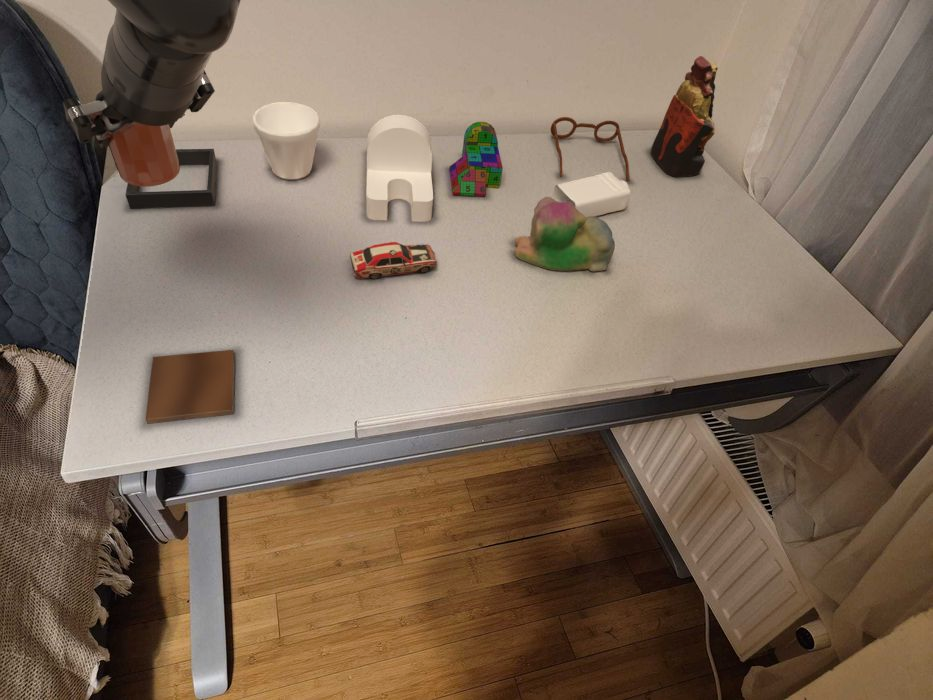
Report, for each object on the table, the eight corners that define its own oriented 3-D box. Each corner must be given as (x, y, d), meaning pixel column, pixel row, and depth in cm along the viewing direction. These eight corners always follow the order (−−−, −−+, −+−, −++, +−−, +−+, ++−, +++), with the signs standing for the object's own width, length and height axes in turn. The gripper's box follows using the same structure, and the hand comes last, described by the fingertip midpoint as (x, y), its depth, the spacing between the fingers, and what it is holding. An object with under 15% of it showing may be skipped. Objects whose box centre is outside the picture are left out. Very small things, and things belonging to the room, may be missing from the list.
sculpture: (593, 236, 98) (612, 183, 91) (614, 271, 93) (636, 218, 86) (508, 242, 95) (519, 188, 87) (524, 279, 90) (538, 225, 82)
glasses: (613, 143, 118) (621, 119, 114) (629, 182, 110) (638, 158, 106) (547, 138, 117) (553, 113, 113) (558, 177, 108) (565, 152, 104)
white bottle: (631, 210, 104) (640, 189, 101) (570, 225, 99) (577, 204, 96) (609, 188, 108) (616, 167, 105) (549, 202, 103) (554, 181, 100)
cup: (263, 152, 103) (255, 99, 96) (324, 154, 104) (320, 102, 97) (257, 187, 96) (248, 133, 89) (322, 189, 98) (318, 136, 91)
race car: (353, 266, 89) (346, 242, 86) (433, 252, 91) (430, 228, 87) (356, 290, 86) (350, 266, 83) (439, 275, 88) (436, 251, 84)
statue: (703, 178, 114) (754, 72, 99) (665, 179, 112) (711, 71, 97) (676, 143, 121) (719, 39, 106) (640, 143, 119) (678, 38, 104)
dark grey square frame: (130, 209, 89) (125, 194, 88) (138, 164, 97) (134, 149, 95) (214, 205, 92) (211, 192, 90) (216, 162, 99) (213, 148, 97)
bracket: (431, 222, 96) (437, 158, 87) (366, 219, 94) (365, 154, 86) (425, 154, 108) (430, 92, 99) (367, 151, 106) (367, 88, 98)
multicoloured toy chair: (447, 155, 109) (451, 119, 103) (492, 157, 110) (498, 122, 105) (452, 195, 101) (457, 159, 96) (500, 197, 102) (507, 162, 97)
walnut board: (147, 423, 67) (145, 419, 66) (154, 361, 73) (152, 356, 72) (233, 414, 69) (232, 410, 69) (234, 353, 75) (233, 349, 74)
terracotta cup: (116, 187, 68) (91, 120, 62) (123, 155, 72) (100, 89, 66) (178, 185, 69) (160, 120, 63) (181, 154, 73) (164, 89, 67)
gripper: (208, 10, 57) (177, 80, 71) (42, 41, 50) (43, 113, 63) (247, 89, 59) (209, 143, 72) (92, 131, 51) (83, 182, 65)
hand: (132, 129), depth 68 cm, fingers closed on terracotta cup, 6 cm apart
